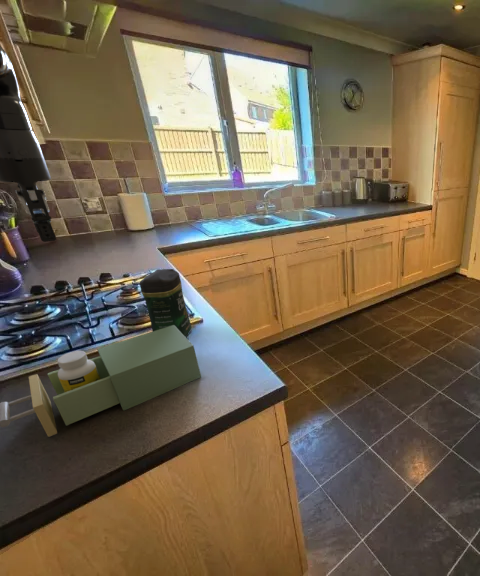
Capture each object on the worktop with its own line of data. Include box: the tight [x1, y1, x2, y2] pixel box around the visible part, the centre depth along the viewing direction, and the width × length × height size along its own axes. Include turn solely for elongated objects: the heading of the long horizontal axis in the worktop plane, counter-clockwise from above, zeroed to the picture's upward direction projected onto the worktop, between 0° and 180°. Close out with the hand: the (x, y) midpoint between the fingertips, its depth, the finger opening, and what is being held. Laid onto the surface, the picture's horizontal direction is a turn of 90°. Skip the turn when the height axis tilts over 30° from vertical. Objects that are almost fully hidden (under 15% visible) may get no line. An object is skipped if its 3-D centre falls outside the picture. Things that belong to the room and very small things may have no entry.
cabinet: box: [97, 325, 202, 411], centre depth 72 cm, size 15×13×9 cm
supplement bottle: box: [56, 350, 100, 392], centre depth 63 cm, size 5×5×10 cm
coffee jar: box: [139, 268, 192, 338], centre depth 87 cm, size 10×8×19 cm
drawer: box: [0, 355, 120, 438], centre depth 63 cm, size 18×11×7 cm, turn 137°
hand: (47, 236), depth 70 cm, fingers open, 8 cm apart
